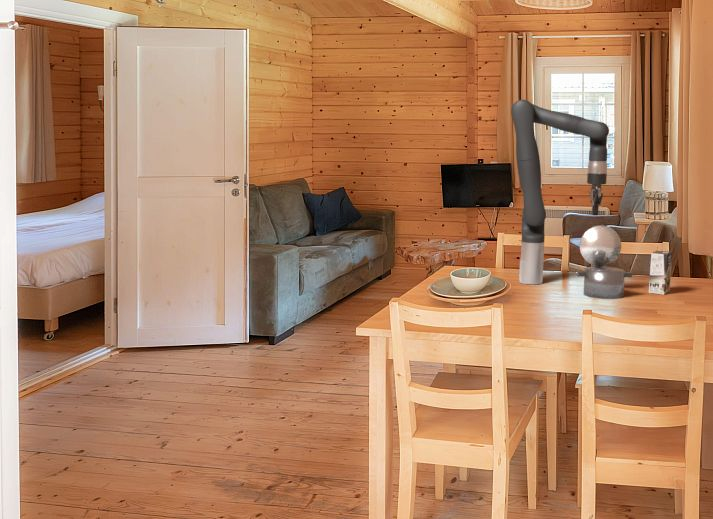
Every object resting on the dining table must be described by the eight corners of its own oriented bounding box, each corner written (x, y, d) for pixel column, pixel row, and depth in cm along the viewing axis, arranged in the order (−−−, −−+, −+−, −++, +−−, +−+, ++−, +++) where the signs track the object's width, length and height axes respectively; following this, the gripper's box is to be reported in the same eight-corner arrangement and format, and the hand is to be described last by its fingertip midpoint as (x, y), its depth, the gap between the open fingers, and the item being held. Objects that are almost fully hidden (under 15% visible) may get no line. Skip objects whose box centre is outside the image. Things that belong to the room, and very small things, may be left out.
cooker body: (580, 298, 348) (582, 272, 346) (571, 289, 365) (572, 265, 363) (635, 299, 347) (636, 273, 346) (623, 290, 364) (624, 266, 363)
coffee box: (664, 294, 357) (667, 254, 354) (648, 293, 360) (650, 252, 358) (670, 291, 364) (673, 251, 362) (653, 289, 368) (656, 249, 365)
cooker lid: (581, 225, 359) (579, 224, 363) (579, 265, 361) (577, 264, 365) (622, 226, 359) (619, 225, 363) (620, 266, 361) (618, 265, 364)
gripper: (584, 171, 374) (582, 213, 377) (591, 173, 361) (589, 216, 364) (602, 171, 374) (600, 213, 377) (610, 173, 361) (608, 217, 364)
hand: (594, 215), depth 370 cm, fingers closed
